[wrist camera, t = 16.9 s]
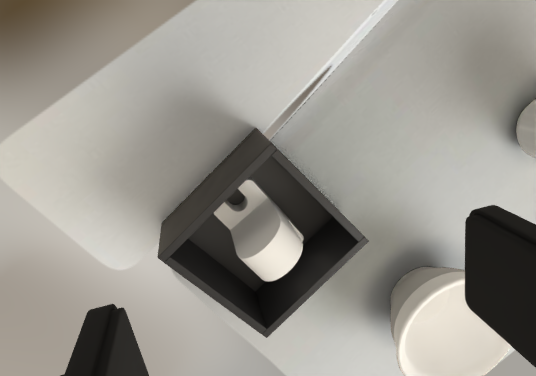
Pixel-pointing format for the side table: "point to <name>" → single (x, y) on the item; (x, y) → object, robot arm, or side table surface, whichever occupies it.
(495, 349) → the bowl
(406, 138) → the side table surface
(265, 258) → the cable organizer
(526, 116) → the mug
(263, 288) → the basket
